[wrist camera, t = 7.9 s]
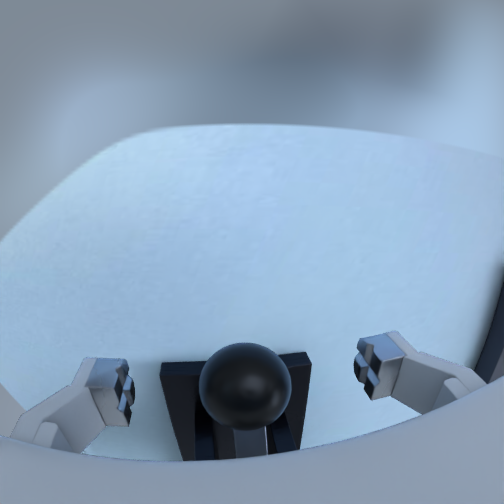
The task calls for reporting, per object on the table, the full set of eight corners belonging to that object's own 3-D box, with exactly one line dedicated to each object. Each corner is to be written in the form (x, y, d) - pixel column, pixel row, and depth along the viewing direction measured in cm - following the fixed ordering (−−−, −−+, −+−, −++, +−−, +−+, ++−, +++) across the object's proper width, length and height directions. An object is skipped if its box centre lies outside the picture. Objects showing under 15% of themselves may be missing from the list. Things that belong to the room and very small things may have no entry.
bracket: (161, 361, 15) (138, 573, 4) (306, 351, 16) (399, 537, 5) (187, 461, 18) (193, 600, 7) (293, 452, 19) (336, 582, 8)
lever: (198, 342, 12) (191, 349, 9) (277, 336, 12) (298, 340, 9) (228, 559, 9) (232, 597, 6) (291, 551, 9) (306, 588, 6)
